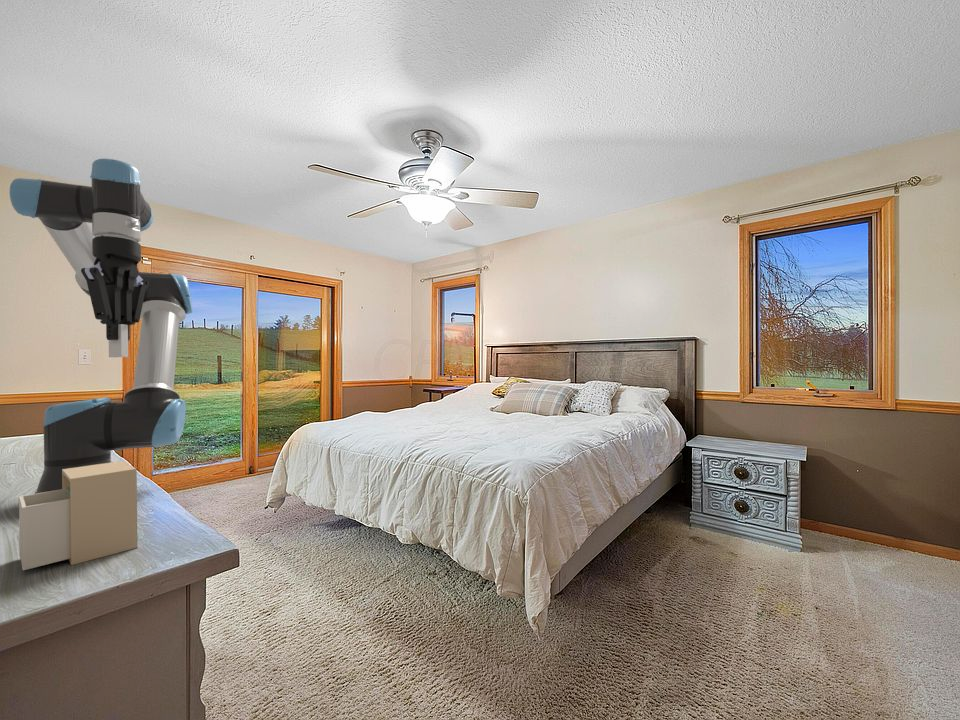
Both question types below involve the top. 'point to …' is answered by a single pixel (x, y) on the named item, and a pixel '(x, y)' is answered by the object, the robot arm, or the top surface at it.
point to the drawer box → (44, 528)
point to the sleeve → (101, 509)
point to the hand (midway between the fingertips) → (118, 357)
